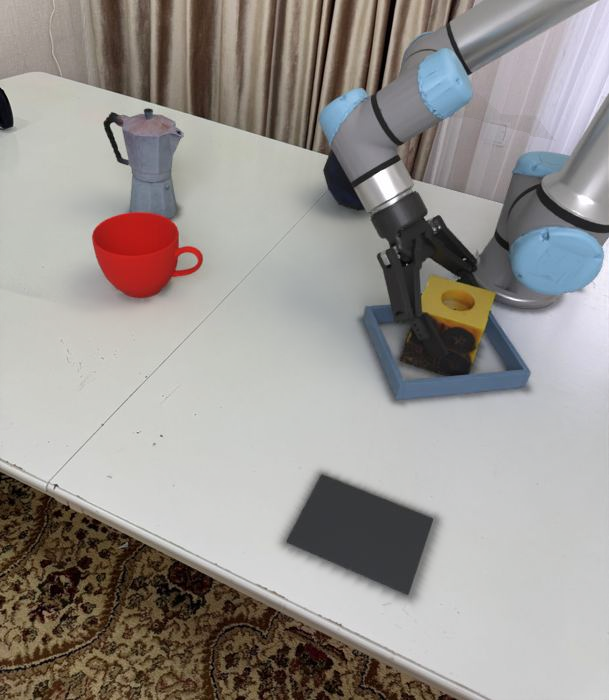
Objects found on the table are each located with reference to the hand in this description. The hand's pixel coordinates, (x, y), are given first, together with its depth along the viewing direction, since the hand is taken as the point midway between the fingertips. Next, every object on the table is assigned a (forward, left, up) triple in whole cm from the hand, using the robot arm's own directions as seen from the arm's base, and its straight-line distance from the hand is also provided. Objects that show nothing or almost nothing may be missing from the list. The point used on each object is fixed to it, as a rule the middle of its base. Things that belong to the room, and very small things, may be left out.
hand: (462, 335), depth 90 cm
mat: (+22, +26, -5) cm, 34 cm away
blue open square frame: (+2, -2, -5) cm, 6 cm away
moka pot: (+44, -48, -5) cm, 65 cm away
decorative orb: (+3, -48, -5) cm, 48 cm away
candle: (+2, -2, -5) cm, 6 cm away
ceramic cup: (+44, -23, -5) cm, 50 cm away
